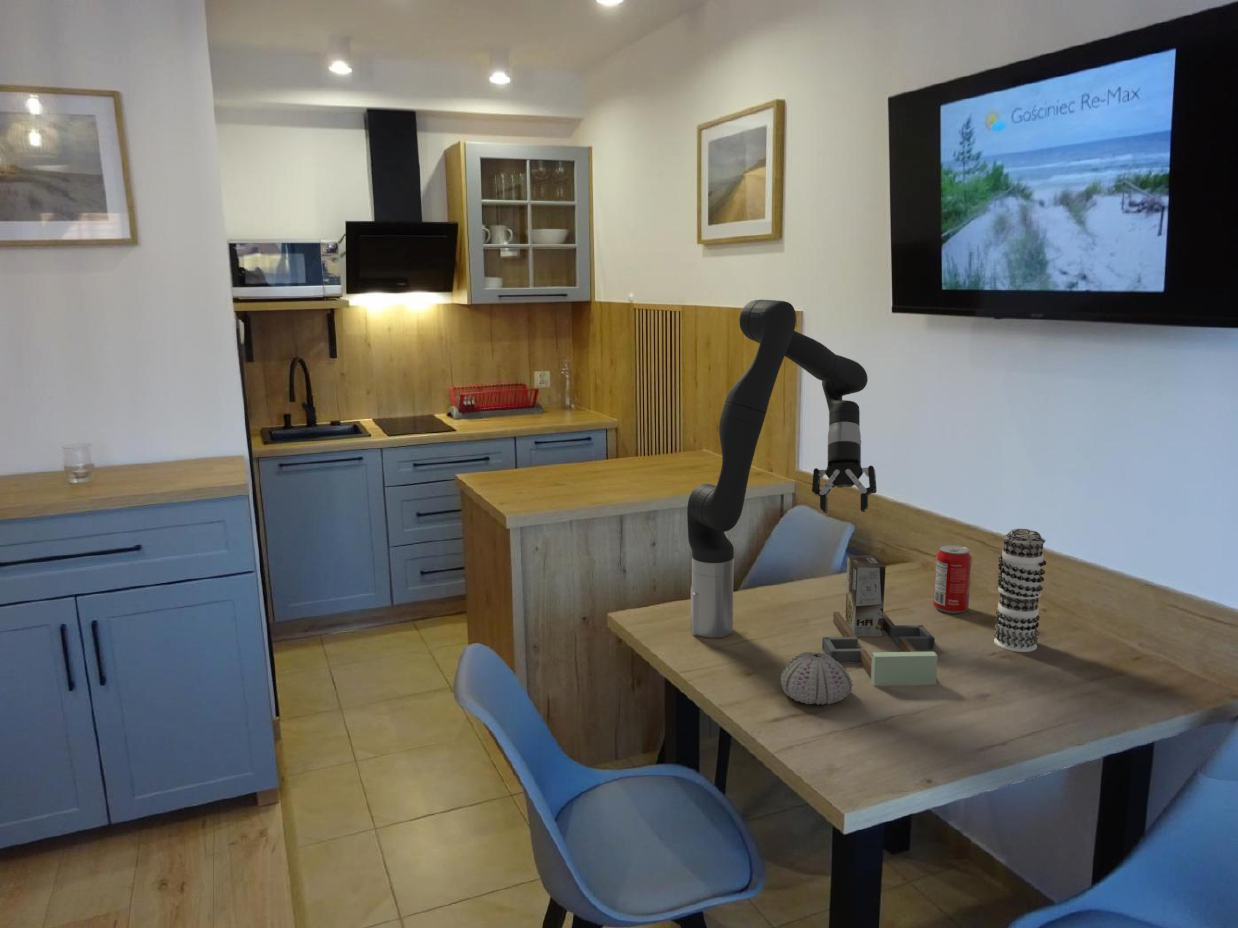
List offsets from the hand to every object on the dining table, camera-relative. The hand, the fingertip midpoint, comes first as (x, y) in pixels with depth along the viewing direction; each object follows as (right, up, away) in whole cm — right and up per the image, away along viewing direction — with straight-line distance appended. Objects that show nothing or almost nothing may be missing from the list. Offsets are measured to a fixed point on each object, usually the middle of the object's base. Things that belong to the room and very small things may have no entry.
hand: (843, 511), depth 202 cm
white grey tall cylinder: (+34, -28, -13) cm, 45 cm away
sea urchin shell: (-14, -33, -34) cm, 50 cm away
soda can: (+27, -24, +8) cm, 37 cm away
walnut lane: (+4, -28, -15) cm, 32 cm away
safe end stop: (+4, -32, -30) cm, 44 cm away
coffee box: (+3, -26, -3) cm, 27 cm away
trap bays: (+4, -28, -15) cm, 32 cm away
